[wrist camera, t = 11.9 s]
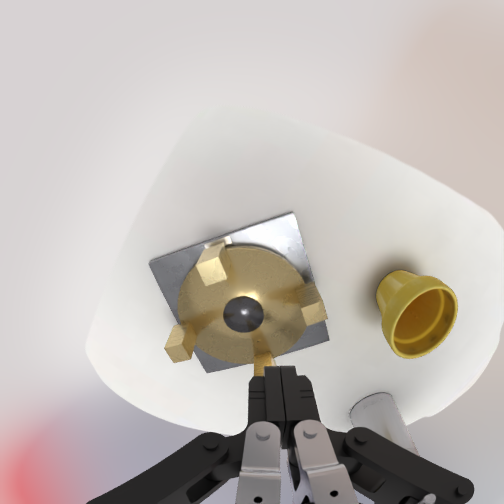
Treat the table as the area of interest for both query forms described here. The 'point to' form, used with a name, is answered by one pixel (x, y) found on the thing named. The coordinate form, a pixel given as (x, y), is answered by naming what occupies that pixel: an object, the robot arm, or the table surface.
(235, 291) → the pegged brass disc
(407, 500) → the robot arm
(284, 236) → the flange plate
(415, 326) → the plant pot
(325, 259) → the table surface
